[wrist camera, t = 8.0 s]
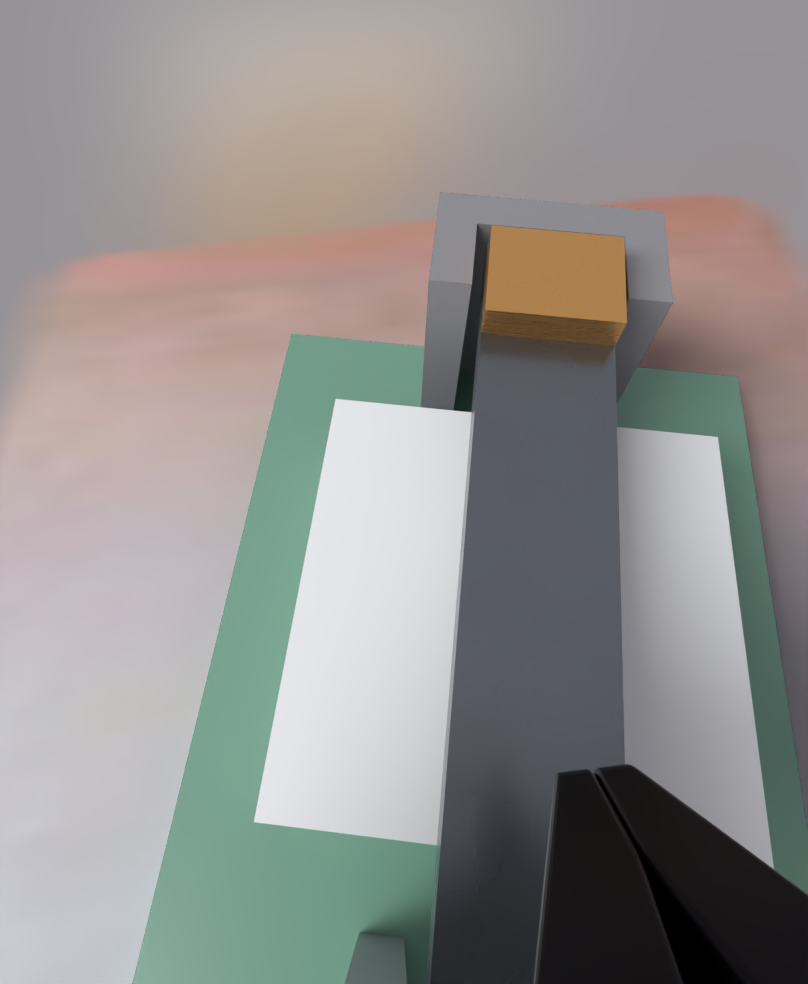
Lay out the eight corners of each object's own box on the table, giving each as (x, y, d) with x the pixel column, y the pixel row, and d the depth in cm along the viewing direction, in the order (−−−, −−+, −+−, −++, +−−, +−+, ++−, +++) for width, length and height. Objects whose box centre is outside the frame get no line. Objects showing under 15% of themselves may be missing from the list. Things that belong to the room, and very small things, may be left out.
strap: (608, 1143, 10) (656, 1232, 8) (414, 1113, 10) (417, 1197, 8) (598, 287, 16) (623, 227, 14) (482, 276, 16) (492, 215, 14)
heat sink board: (830, 1249, 13) (1299, 1727, 6) (114, 1143, 13) (-163, 1477, 7) (717, 402, 22) (856, 228, 16) (297, 361, 23) (256, 176, 16)
